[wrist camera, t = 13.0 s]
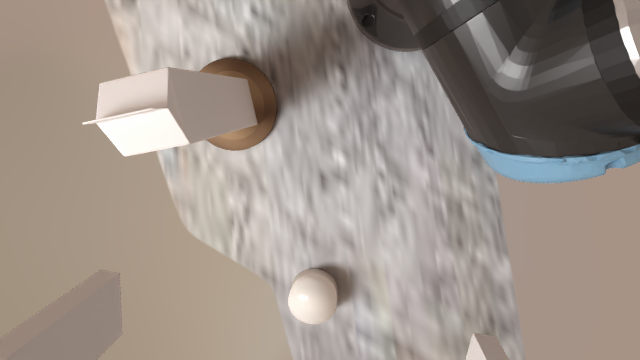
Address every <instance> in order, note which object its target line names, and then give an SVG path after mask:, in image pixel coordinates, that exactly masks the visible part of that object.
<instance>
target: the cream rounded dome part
mask: <svg viewBox="0 0 640 360" xmlns="http://www.w3.org/2000/svg"><path fill="white" fill-rule="evenodd" d="M337 292H338V289H337V284H336V282H335V280H334V279H333V277H332V276H331V275H330V274H328V273H327V272H325V271H323V270H319V269H307V270H304V271H302V272H301V273H299V274H298V275H297V276H296V277H295V279H294V281H293V284H292V287H291V291H290V294H289V298H288V304H289V308H290V310H291V312H292V314H293V315H294V316H295V317H296V318H297V319H299V320H300V321H302V322H305V323H308V324H319V323H323V322H325V321H327V320H329V319H330V318H331V317H332V316H333V315H334V313H335V311H336V307H337Z"/></svg>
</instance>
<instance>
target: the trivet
mask: <svg viewBox="0 0 640 360" xmlns="http://www.w3.org/2000/svg"><path fill="white" fill-rule="evenodd" d="M200 72H203V73H210V74H216V75H223V76H229V77H236V78H242V79H247V81H248V85H249V89H250V93H251V98H252V102H253V106H254V110H255V115H256V119H257V123H258V124H257V125H254V126H250V127H247V128H243V129H240V130H237V131H233V132H230V133H226V134H223V135H219V136H216V137H213V138H209V139H206V140H207V141H209V142H210V143H211V144H213V145H215V146H217V147H219V148H222V149H226V150H233V151H234V150H244V149H248V148H250V147H252V146H255V145H256V144H258V143H260V142H261V141H262V140H263V139H264V138H265V137H266V136H267V135H268V134H269V132H270V131H271V129H272V127H273V125H274V122H275V119H276V113H277V102H276V96H275V93H274V90H273V88H272V85H271V84H270V82H269V80H268V79H267V77H266V76H265V75H264V74H263V73H262V72H261V71H260V70H259V69H257V68H256V67H255V66H253V65H251V64H250V63H247V62H245V61H241V60H237V59H221V60H217V61H214V62H212V63H210V64H208V65H207V66H205V67H204V68H203V69H202V70H201V71H200Z"/></svg>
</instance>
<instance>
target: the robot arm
mask: <svg viewBox="0 0 640 360" xmlns="http://www.w3.org/2000/svg"><path fill="white" fill-rule="evenodd" d="M347 2H348V6H349V9H350V12H351V15H352V17H353V19H354V21H355V23H356V24H357V26H358V27H359V29H360V30H361V31H362V32H363V34H364V35H365V36H366V37H368V38H369V39H370V40H371V41H373V42H374V43H376V44H378V45H380V46H382V47H384V48H387V49H390V50H394V51H403V52H407V51H416V50H421V49H422V52H423V53H424V55H425V57H426V59H427V61H428V62H429V64H430V66H431V68H432V70H433V71H434V73H435V75H436V77H437V79H438V80H439V82H440V84H441V86H442V88H443V89H444V91H445V93H446V95H447V97H448V98H449V100H450V102H451V104H452V106H453V107H454V109H455V111H456V113H457V115H458V116H459V118H460V120H461V122H462V124H463V125H464V131H465V134H466V136H467V138H468V139H469V140H470V141H471V143H472V144H474V145H475V146H476V147H477V149H478V150H479V152H480V154H481V155H482V157H483V158H484V160H485V161H486V163H487V164H488V165H489V166H490V167H491V168H492V169H493V170H494V171H495V172H497V173H499V174H501V175H502V176H505V177H507V178H510V179H513V180H518V181H523V182H530V183H562V182H570V181H577V180H583V179H588V178H593V177H597V176H601V175H604V174H605V173H606V169H608V168H626V167H628V166H631V165H633V164H636V163H638V162H640V0H500V1H499V0H347ZM496 2H497V3H496ZM493 4H494V5H493ZM490 6H491V7H490ZM487 8H488V9H487ZM482 11H483V12H482ZM479 13H480V14H479ZM473 17H474V18H473ZM470 19H471V20H470ZM467 21H468V22H467ZM464 23H465V24H464ZM461 25H462V26H461ZM458 27H459V28H458ZM426 48H427V49H426ZM424 49H425V50H424ZM423 50H424V51H423ZM121 316H122V315H121V291H120V273H117V272H111V271H105V270H100V271H98V272H97V273H95V274H94V275H92V276H91V277H89V278H88V279H86V280H85V281H83V282H82V283H81V284H79V285H78V286H76V287H75V288H73V289H72V290H70V291H69V292H67V293H66V294H64V295H63V296H61V297H60V298H58V299H57V300H56V301H54V302H53V303H51V304H50V305H48V306H47V307H45V308H44V309H42V310H41V311H39V312H38V313H36V314H35V315H34V316H32V317H31V318H29V319H28V320H26V321H25V322H24V323H22V324H20V325H19V326H17V327H16V328H14V329H13V330H12V331H10V332H9V333H7V334H6V335H4V336H3V337H1V338H0V360H97V359H98V358H99V357H100V356H101V355H102V354H103V353H104V352H105V351H106V350H107V349H108V348H109V347H110V346H111V345H112V344H113V343H114V342H115V341H116V340H117V339H118V338H119V337H120V336H121V335H122V317H121ZM466 360H509V359H508V357H507V355H506V354H505V352H504V350H503V348H502V347H501V345H500V343H499V342H498V340H497V338H496V337H495V336H489V335H483V334H477V333H473V335H472V339H471V343H470V346H469V350H468V353H467V357H466Z"/></svg>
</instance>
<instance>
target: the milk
mask: <svg viewBox="0 0 640 360" xmlns="http://www.w3.org/2000/svg"><path fill="white" fill-rule="evenodd" d="M93 123H96V124H97V125H98V126H99V127H100V128H101V130H102V131H103V132H104V133H105V134H106V136H107V137H108V138H109V139H110V140H111V142H112V143H113V144H114V145H115V146H116V147H117V149H118V150H119V151H120V152H121V154H122V155H123V156H131V155H136V154H141V153H146V152H152V151H157V150H162V149H167V148H172V147H178V146H183V145H188V144H192V143H195V142H199V141H202V140H206V139H209V138H213V137H216V136H219V135H223V134H226V133H230V132H233V131H237V130H240V129H243V128H247V127H250V126H254V125H257V124H258V123H257V119H256V115H255V110H254V106H253V102H252V98H251V93H250V89H249V85H248V81H247V79H242V78H236V77H229V76H223V75H216V74H210V73H203V72H196V71H190V70H183V69H177V68H170V67H167V68H162V69H158V70H154V71H150V72H145V73H141V74H137V75H132V76H128V77H124V78H119V79H115V80H111V81H106V82H102V83H100V85H99V94H98V104H97V114H96V120H93V121H88V122H83V124H93Z"/></svg>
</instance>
